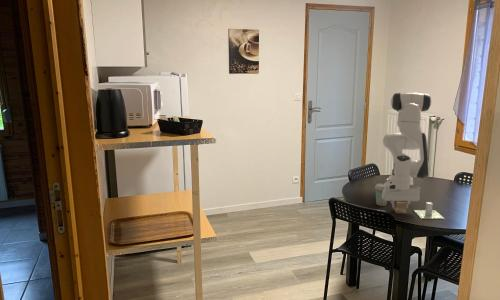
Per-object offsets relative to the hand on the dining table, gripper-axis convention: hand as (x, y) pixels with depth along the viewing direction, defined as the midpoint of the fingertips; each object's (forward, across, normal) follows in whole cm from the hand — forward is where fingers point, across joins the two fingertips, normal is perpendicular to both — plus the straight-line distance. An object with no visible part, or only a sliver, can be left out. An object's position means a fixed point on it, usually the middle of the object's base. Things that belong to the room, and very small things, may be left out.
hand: (399, 207), depth 214 cm
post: (+2, -14, +5) cm, 15 cm away
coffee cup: (+2, +7, -12) cm, 14 cm away
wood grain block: (+2, 0, 0) cm, 2 cm away
